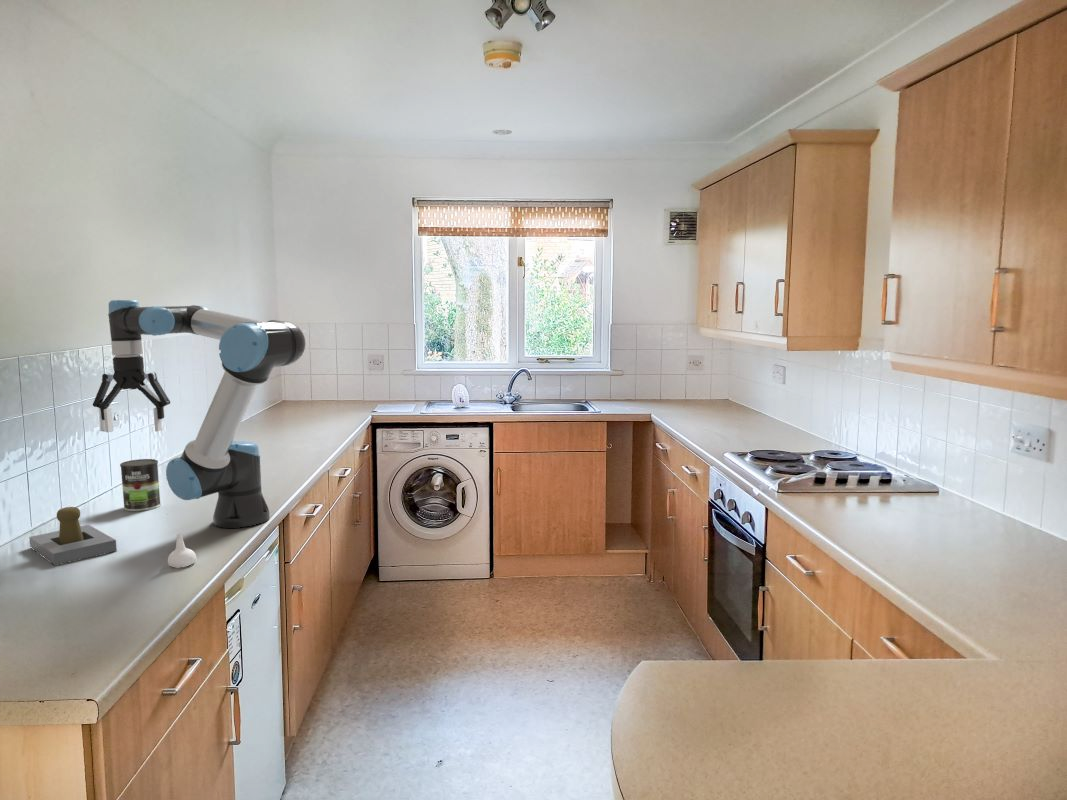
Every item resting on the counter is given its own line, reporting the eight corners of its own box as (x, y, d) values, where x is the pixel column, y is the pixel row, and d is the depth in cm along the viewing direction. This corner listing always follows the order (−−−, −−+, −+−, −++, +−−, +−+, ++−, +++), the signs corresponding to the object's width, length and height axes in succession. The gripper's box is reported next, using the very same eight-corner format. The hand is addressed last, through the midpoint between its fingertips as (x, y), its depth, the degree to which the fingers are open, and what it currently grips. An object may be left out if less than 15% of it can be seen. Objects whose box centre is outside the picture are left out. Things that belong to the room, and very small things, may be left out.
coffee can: (157, 510, 236) (154, 464, 234) (120, 512, 233) (116, 467, 231) (164, 501, 246) (160, 457, 244) (128, 504, 243) (124, 460, 241)
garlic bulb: (189, 560, 192) (185, 529, 191) (201, 563, 188) (197, 531, 187) (163, 567, 187) (159, 535, 186) (176, 571, 183) (171, 537, 182)
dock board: (116, 551, 198) (115, 539, 197) (54, 565, 188) (53, 553, 187) (89, 535, 211) (88, 524, 211) (30, 548, 201) (29, 536, 201)
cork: (79, 544, 204) (75, 503, 202) (89, 548, 200) (85, 506, 199) (54, 550, 199) (50, 508, 198) (64, 554, 195) (59, 512, 194)
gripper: (179, 354, 220) (184, 427, 223) (89, 355, 219) (95, 429, 222) (167, 356, 212) (173, 432, 215) (74, 357, 211) (81, 434, 214)
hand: (134, 431), depth 219 cm, fingers open, 13 cm apart
